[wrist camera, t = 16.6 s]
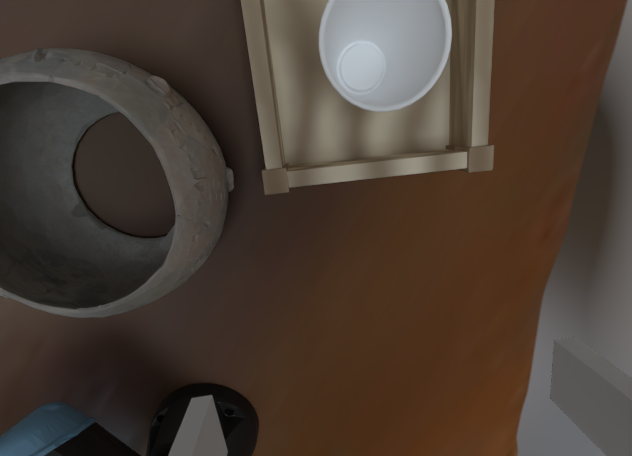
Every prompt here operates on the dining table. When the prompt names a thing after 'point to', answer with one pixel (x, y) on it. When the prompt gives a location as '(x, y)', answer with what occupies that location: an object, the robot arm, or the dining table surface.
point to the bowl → (64, 201)
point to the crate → (358, 124)
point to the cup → (384, 50)
